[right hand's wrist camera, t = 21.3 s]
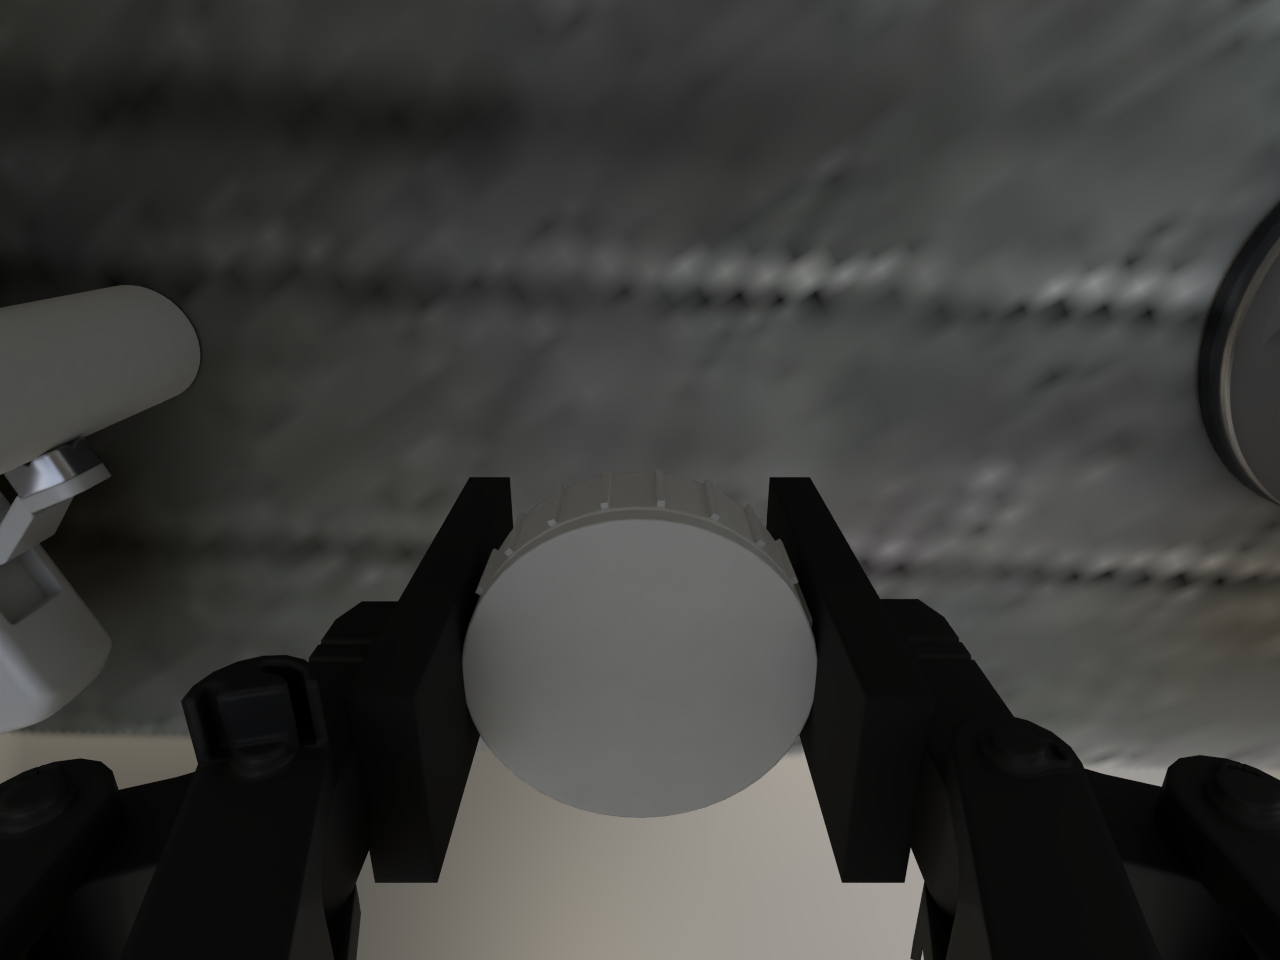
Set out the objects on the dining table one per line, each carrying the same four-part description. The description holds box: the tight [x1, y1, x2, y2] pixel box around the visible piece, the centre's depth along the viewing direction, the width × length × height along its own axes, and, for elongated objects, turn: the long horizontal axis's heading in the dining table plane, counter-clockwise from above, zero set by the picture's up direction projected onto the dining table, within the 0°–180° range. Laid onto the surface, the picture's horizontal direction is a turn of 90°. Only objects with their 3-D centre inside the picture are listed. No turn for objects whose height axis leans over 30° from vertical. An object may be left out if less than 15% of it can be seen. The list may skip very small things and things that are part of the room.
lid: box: [462, 469, 817, 818], centre depth 11 cm, size 5×5×2 cm
